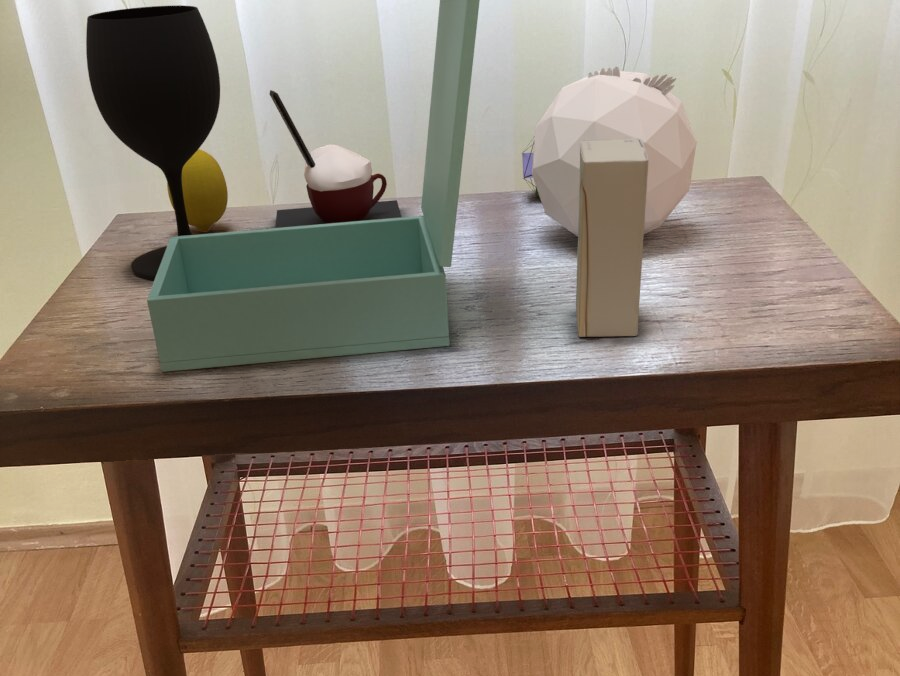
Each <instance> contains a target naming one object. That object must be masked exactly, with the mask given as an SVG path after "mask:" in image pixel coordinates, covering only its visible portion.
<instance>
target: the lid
mask: <svg viewBox="0 0 900 676" xmlns="http://www.w3.org/2000/svg"><path fill="white" fill-rule="evenodd" d="M480 1H481V0H439V6H438V17H437V27H436V28H437V29H436V38H435V49H434V59H433V60H434V61H433V72H432V83H431V93H430V103H429V116H428V128H427V139H426V148H425V162H424V171H423V182H422V195H421V206H420V209H421V211H422V216H424V219H425V222H426V225H427V228H428V231H429V234H430V237H431V240H432V243H433V246H434V250H435V253H436V256H437V259H438V262H439V265H440V266H441V267H443V268H451V267H452V262H453V251H454V242H455V233H456V225H457V224H456V223H457V214H458V206H459V197H460V196H459V195H460V189H461V187H460V186H461V177H462V167H463V158H464V149H465V141H466V130H467V122H468V113H469V104H470V103H469V102H470V95H471V83H472V75H473V67H474V57H475V48H476V47H475V46H476V40H477V39H476V37H477V30H478V29H477V27H478V19H479V9H480Z"/></svg>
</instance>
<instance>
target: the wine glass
mask: <svg viewBox="0 0 900 676" xmlns="http://www.w3.org/2000/svg"><path fill="white" fill-rule="evenodd" d="M86 19H87V20H86V35H85V36H86V37H85V39H86V40H85V45H86V47H85V48H86V50H85V51H86V52H85V53H86V65H87V73H88V79H89V83H90V84H89V85H90V88H91V92H92V96H93V98H94V101H95V104H96V107H97V109H98V111H99V113H100V114H101V117H102V119H103V120H104V122H105V124H106V125H107V127H108V128H109V129H110V131H111V133H113V134H114V136H116V138H117V139H118V140H119V141H121V143H122V144H124V145H125V146H126V147H127V148H128V149H130V150H131V151H132V152H134V153H135V154H137V156H139V157H141V158H142V159H144V160H146V161H148V162H149V163H151V164H152V165H154V166H155V167H157V168H158V169H160V170H161V172H162V173H163V174H164V177H165V179H166V184H167V183H168V186H169V189H170V193H171V197H172V201H173V206H174V209H173V211H174V215H175V221H176V229H177V236H187V235H193V234H192V230H191V228H190V225H189V224H188V220H187V215H186V210H185V203H184V197H183V189H182V169H183V167H184V165H185V163H186V162H187V161H188V160H189V159H190V158H191V157H192V156H193V155H194V154H195V153H196V151H197V150H198V149H200V148H201V146H203V144H204V143H205V141H206V139H207V138H208V137H209V135H210V134H211V132H212V130H213V127H214V125H215V124H216V120H217V118H218V114H219V108H220V102H221V79H220V78H221V77H220V71H219V65H218V61H217V55H216V53H215V49H214V46H213V42H212V40H211V37H210V34H209V32H208V29H207V26H206V24H205V21H204V18H203V17H202V15H201V12H200V10H199V8H198V6H194V5H181V4H180V5H179V4H177V5H157V6H156V5H155V6H153V5H152V6H142V7H130V8H122V9H117V10H116V9H115V10H108V11H102V12H97V13H94V14H91V15H88V16H87V18H86ZM167 246H168V245H165V246H162V247H158V248H155V249H152V250H149V251H146V252H144V253H142V254H140V255H139V256H137V257H136V258H134V259H133V260H132V262H131V263H130V264H131V265H130V268H131V272H132V273H133V274H134V275H135V276H137V277H139V278H141V279H145V280H149V281H154V280H155V277H156V275H157V272H158V269H159V267H160V264H161V261H162V259H163V256H164V253H165V251H166V248H167Z"/></svg>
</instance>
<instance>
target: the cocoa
mask: <svg viewBox="0 0 900 676" xmlns="http://www.w3.org/2000/svg"><path fill="white" fill-rule="evenodd" d="M269 96H270V98H271V100H272V102H273V104H274V105H275V108H276V109H277V112H278V113H279V116H280V117H281V119H282V120H283V122H284V124H285V126H286V128H287V130H288V131H289V134H290V135H291V137H292V139H293V141H294V142H295V145H296V147H297V149H298V150H299V152H300V154H301V155H302V158H303V159H304V161H305V162H304V163H305V164H304V171H303V177H304V179H305V182H306V192H307V196H308V200H309V202H310V204H311V207H313V209H314V211H315V213H316V215H317V216H318V217H319V218H320V219H322V220H323V221H324V222H326V223H328V224H330V223H342V222H354V221H360V220H362V219H363V218H365V217H366V215H368V213H369V211H370V209H371V208H372V207H373V206H374V205H375V204H376V203H377V202H380V200H381V198H382V197H383V196H384V193H385V192H386V190H387V185H388V182H387V179H386V177H385V176H384V174H382V173H375V174H372V173H373V167H372V162H371V160H370V159H368V158H366V157H364V156H361V155H360V154H359V153H358V152H354V151H352V150H350V149H347V148H345V147H343V146H340V145H337V144H335V143H333V144H326V145H322V146H320V147H317V148H314V149H313V150H312V151H311V152H310V151H309V149H308V147H307V146H306V144H305V142H304V140H303V138H302V136H301V135H300V133H299V131H298V129H297V127H296V126H295V123H294V121H293V120H292V118H291V116H290V114H289V112H288V110H287V108H286V106H285V104H284V102H283V100H282V99H281V97H280V95H279V93H278V92H276V91H274V90H272V89H270V90H269ZM378 179H380V180H381V185H380V186H381V187H380V189H379V191H378V192H377V193H376V195H375V196H374V189H375V187H374V182H375V181H376V180H378Z"/></svg>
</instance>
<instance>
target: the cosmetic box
mask: <svg viewBox="0 0 900 676" xmlns="http://www.w3.org/2000/svg"><path fill="white" fill-rule="evenodd" d="M647 176H648V156H647V153H646V150H645V147H644V145H643V143H642V141H641V139H640V138H638V139H613V140H581V141H580V189H579V226H578V236H577V237H578V238H577V259H576V260H577V262H576V289H575V292H576V293H575V315H576V327H577V336H578V337H580V338H585V337H587V338H595V337H596V338H601V337H602V338H603V337H604V338H605V337H608V338H609V337H635V336H637V335H638V330H639V314H640V299H641V298H640V297H641V282H642V267H643V266H642V265H643V252H644V251H643V250H644V236H645V234H644V222H645V207H646V192H647Z"/></svg>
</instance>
